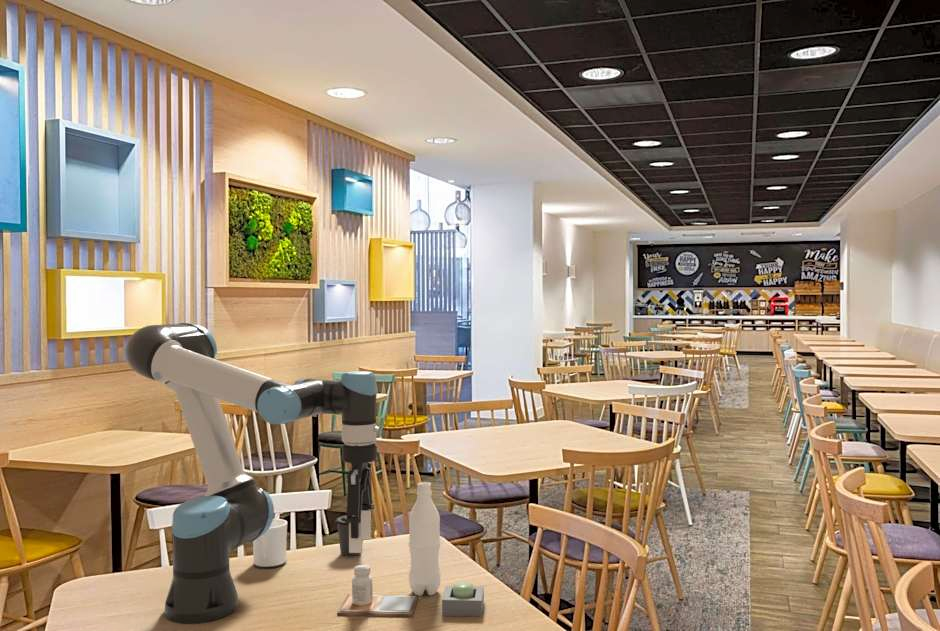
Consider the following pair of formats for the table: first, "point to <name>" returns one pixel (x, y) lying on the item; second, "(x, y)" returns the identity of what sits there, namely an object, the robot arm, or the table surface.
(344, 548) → the coffee cup
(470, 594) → the button
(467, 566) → the table surface
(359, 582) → the pill bottle
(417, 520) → the water bottle
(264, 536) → the mug
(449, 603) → the button housing
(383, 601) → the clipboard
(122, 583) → the table surface
